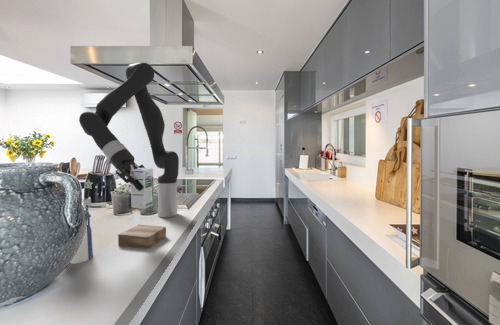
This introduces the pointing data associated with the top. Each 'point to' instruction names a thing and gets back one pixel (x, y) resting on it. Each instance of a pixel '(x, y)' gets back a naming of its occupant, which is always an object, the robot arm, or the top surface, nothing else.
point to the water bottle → (86, 247)
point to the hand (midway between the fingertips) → (146, 187)
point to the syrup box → (146, 194)
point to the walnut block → (142, 236)
